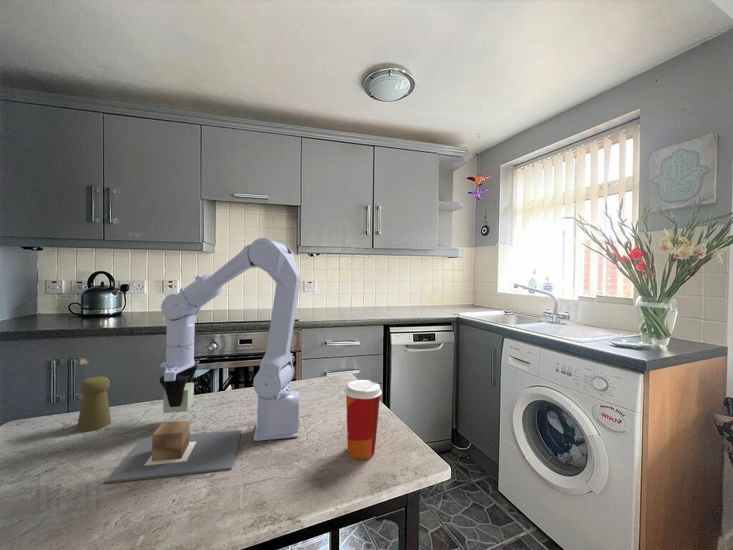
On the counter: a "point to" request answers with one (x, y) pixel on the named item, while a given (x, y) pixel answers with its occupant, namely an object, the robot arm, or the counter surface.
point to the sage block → (186, 401)
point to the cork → (94, 404)
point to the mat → (198, 458)
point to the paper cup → (362, 417)
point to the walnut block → (170, 440)
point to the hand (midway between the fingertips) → (179, 401)
